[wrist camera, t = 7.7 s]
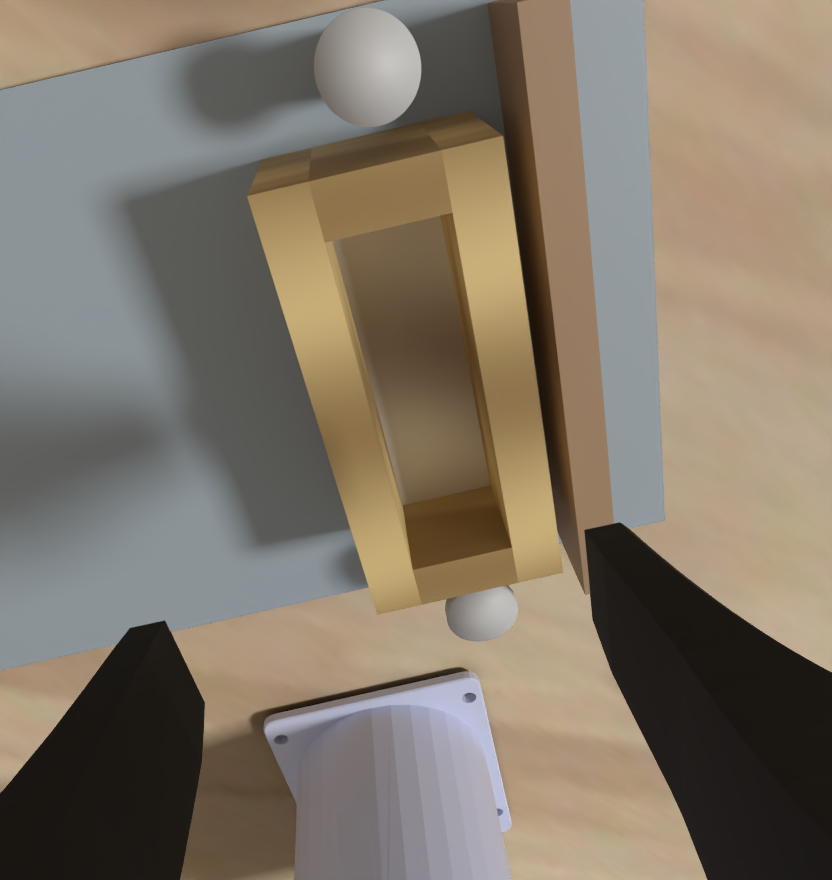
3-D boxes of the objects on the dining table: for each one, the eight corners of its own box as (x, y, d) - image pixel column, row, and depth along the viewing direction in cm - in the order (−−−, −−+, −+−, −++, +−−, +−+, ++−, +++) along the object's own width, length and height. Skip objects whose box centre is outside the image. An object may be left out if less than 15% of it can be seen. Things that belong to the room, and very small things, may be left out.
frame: (527, 488, 23) (563, 572, 20) (369, 525, 23) (377, 614, 20) (468, 110, 18) (503, 135, 14) (261, 159, 18) (246, 196, 14)
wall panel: (659, 511, 25) (711, 590, 22) (-106, 684, 25) (-173, 788, 22) (633, -59, 17) (709, -74, 14) (-489, 204, 17) (-687, 253, 14)
